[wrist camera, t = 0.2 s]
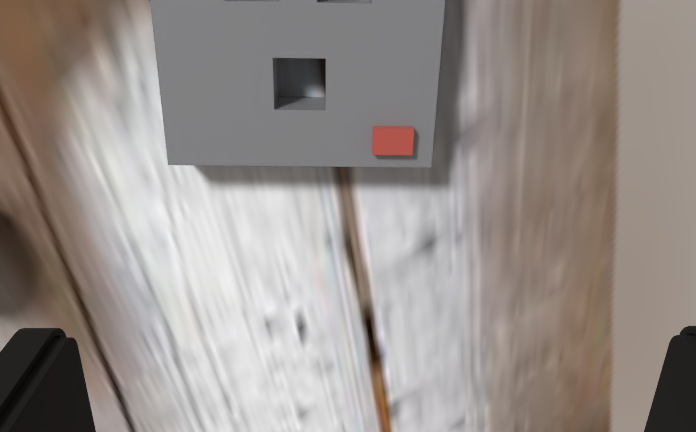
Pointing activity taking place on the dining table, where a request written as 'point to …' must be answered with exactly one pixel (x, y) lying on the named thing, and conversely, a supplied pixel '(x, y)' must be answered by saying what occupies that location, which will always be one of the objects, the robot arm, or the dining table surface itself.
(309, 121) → the socket plate
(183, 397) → the dining table surface
